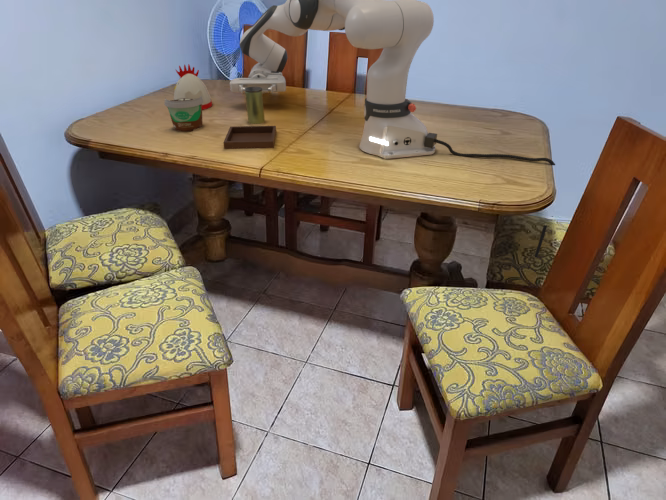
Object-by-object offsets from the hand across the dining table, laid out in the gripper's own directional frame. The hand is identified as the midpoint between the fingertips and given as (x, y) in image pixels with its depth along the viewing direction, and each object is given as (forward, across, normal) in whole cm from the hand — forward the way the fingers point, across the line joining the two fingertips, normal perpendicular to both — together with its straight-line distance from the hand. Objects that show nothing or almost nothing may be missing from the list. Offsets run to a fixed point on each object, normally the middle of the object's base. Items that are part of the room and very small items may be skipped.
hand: (256, 90), depth 162 cm
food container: (+16, -22, +8) cm, 28 cm away
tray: (+28, 0, +8) cm, 29 cm away
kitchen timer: (-12, -26, +9) cm, 30 cm away
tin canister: (+10, 0, +8) cm, 13 cm away
